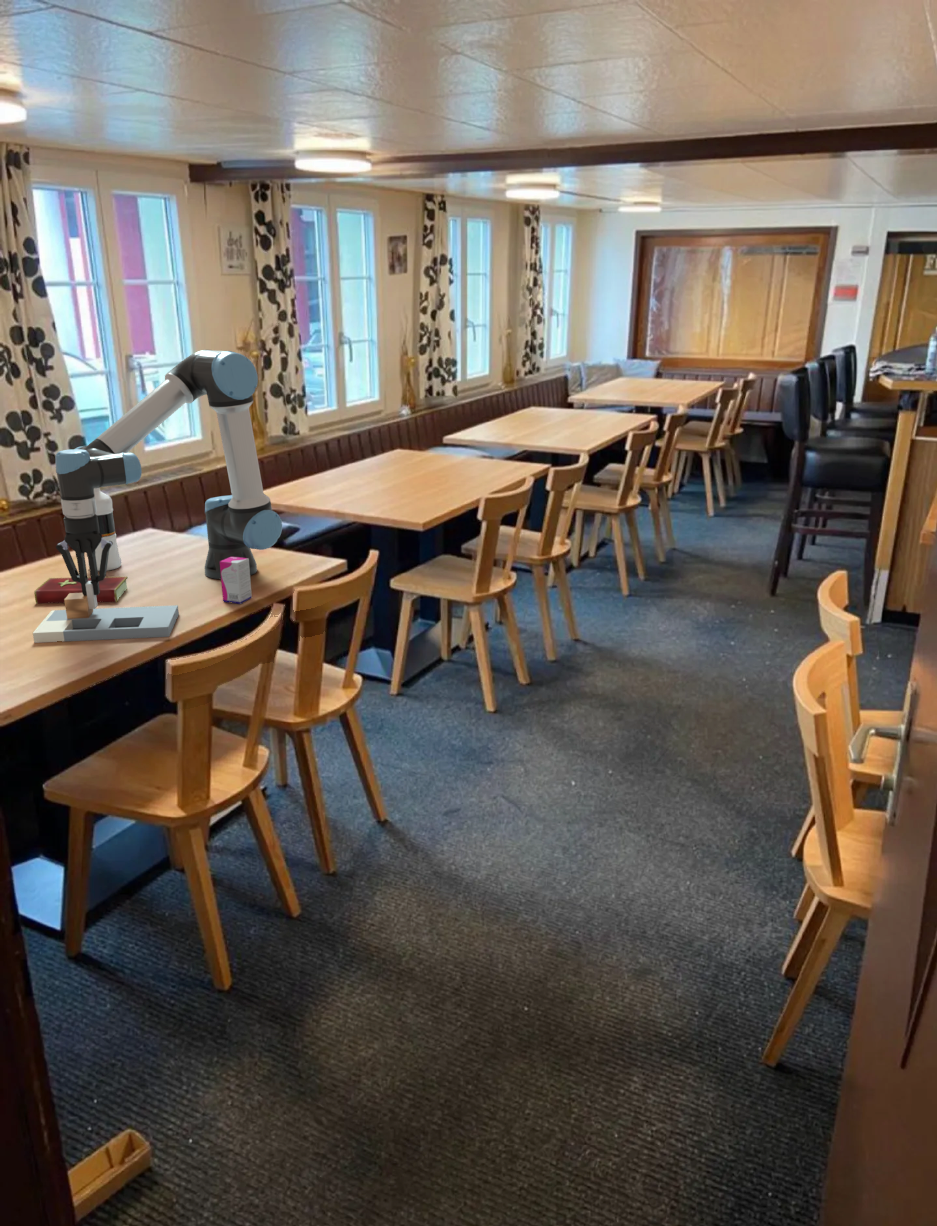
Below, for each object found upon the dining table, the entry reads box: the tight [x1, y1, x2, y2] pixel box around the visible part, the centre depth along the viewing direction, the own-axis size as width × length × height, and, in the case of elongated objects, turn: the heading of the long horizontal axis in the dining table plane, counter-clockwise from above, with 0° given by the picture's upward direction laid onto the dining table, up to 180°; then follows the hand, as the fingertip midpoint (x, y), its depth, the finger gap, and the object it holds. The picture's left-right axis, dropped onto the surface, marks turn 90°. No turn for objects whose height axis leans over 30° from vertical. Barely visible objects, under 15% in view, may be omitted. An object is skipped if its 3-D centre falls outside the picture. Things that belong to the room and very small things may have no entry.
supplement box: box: [220, 557, 253, 605], centre depth 236 cm, size 6×6×12 cm
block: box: [64, 593, 93, 619], centre depth 218 cm, size 5×5×5 cm
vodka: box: [87, 487, 123, 572], centre depth 260 cm, size 9×9×30 cm
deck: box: [32, 604, 180, 644], centre depth 217 cm, size 31×16×2 cm, turn 99°
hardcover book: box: [33, 576, 128, 605], centre depth 240 cm, size 12×21×4 cm, turn 96°
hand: (93, 607), depth 219 cm, fingers closed
